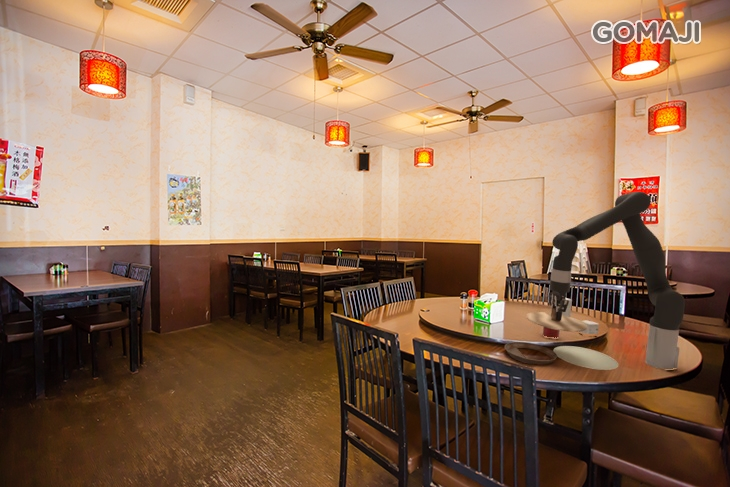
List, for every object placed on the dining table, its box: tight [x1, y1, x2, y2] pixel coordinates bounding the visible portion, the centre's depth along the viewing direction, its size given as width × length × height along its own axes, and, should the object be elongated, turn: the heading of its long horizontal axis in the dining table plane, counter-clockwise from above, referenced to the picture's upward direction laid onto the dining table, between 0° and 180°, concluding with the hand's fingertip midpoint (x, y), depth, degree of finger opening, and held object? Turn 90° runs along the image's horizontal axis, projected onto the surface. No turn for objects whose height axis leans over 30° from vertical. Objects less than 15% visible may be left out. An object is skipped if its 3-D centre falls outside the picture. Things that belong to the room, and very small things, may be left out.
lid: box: [526, 308, 587, 333], centre depth 146 cm, size 23×23×6 cm
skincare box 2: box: [581, 319, 600, 334], centre depth 175 cm, size 6×6×7 cm
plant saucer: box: [504, 341, 557, 366], centre depth 147 cm, size 21×21×3 cm
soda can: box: [542, 326, 561, 338], centre depth 170 cm, size 7×7×12 cm
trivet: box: [552, 345, 619, 371], centre depth 147 cm, size 24×24×1 cm
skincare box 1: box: [562, 297, 573, 317], centre depth 194 cm, size 8×6×15 cm
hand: (555, 318), depth 146 cm, fingers closed on lid, 3 cm apart
